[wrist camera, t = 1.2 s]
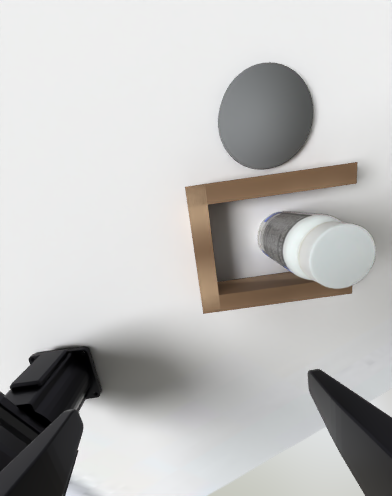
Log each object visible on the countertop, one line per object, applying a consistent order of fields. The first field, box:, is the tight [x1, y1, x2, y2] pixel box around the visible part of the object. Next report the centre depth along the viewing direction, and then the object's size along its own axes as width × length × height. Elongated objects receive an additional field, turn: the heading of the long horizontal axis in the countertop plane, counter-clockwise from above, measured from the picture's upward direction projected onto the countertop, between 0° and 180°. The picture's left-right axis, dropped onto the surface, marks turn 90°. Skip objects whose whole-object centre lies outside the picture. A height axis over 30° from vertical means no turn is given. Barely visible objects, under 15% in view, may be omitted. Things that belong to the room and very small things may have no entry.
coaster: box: [218, 63, 313, 169], centre depth 17 cm, size 8×8×1 cm
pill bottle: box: [257, 212, 376, 289], centre depth 15 cm, size 5×5×8 cm
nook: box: [185, 162, 357, 314], centre depth 18 cm, size 11×14×3 cm
